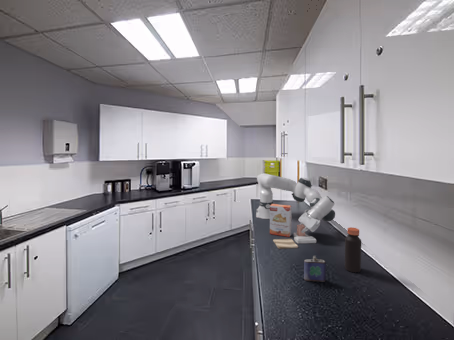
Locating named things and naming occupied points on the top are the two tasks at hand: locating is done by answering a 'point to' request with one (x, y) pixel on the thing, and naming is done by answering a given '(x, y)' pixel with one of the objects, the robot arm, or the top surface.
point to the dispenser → (304, 239)
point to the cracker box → (280, 220)
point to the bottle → (353, 250)
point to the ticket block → (300, 230)
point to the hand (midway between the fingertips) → (300, 230)
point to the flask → (314, 269)
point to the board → (285, 243)
